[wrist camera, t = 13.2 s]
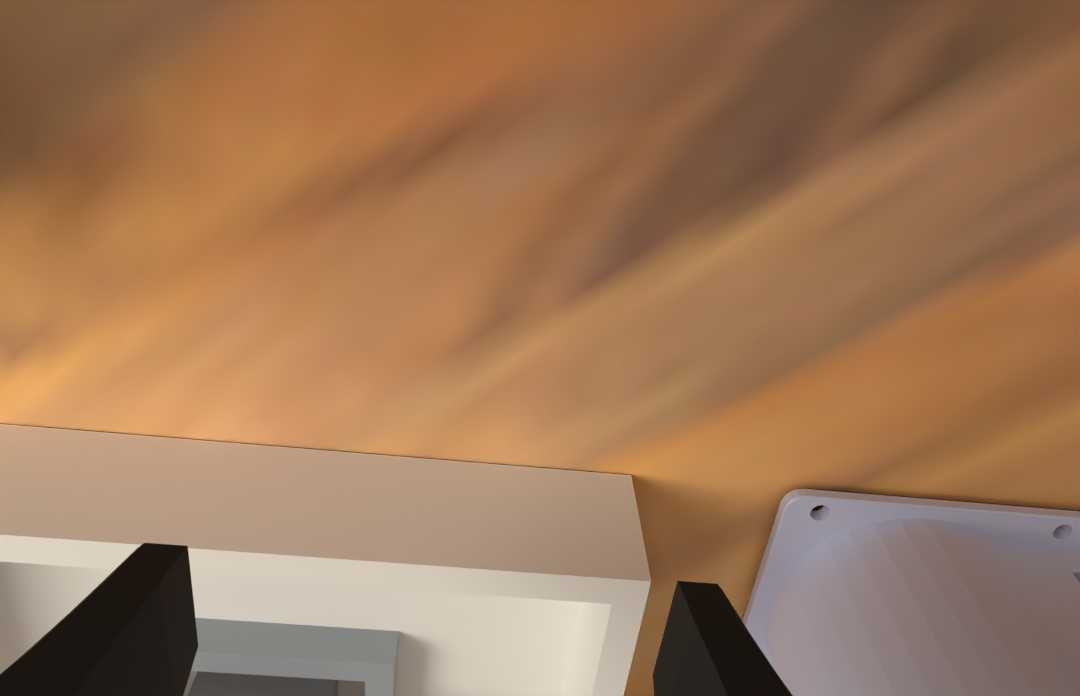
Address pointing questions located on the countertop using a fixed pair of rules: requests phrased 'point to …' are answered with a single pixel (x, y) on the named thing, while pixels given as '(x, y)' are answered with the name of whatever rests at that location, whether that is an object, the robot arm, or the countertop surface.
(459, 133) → the countertop surface
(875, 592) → the robot arm
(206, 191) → the countertop surface
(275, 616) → the box
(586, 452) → the countertop surface
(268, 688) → the grey rectangular block
